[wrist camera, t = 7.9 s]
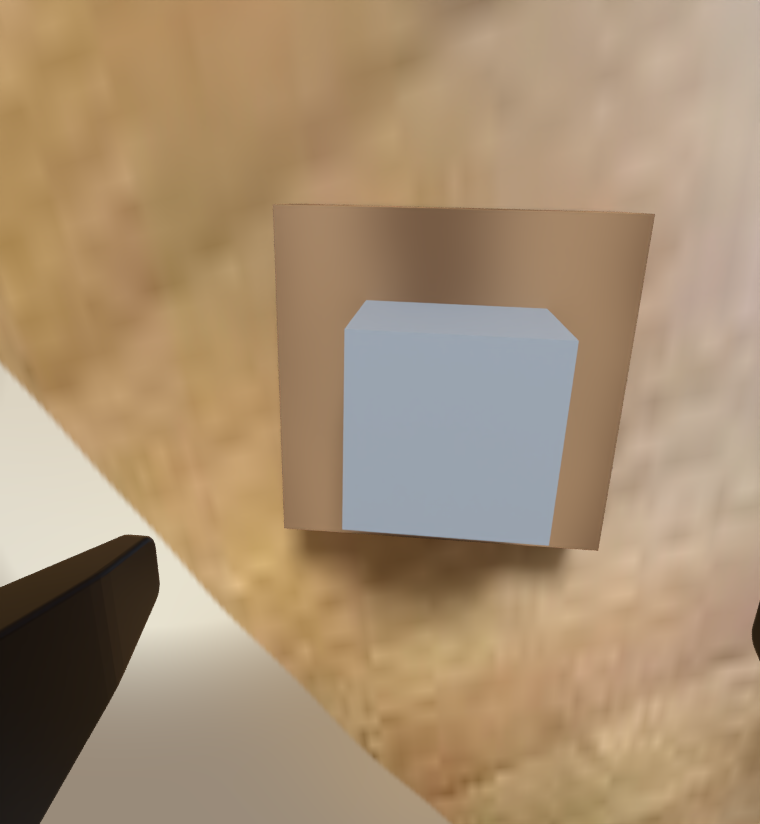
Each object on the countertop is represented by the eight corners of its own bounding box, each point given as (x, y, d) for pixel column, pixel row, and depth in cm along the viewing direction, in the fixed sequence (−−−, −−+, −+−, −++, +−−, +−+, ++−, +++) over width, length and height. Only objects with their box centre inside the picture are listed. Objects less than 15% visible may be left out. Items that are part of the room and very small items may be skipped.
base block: (621, 211, 18) (654, 213, 15) (577, 504, 21) (597, 550, 19) (297, 203, 19) (272, 204, 16) (304, 487, 22) (284, 528, 19)
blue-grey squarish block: (547, 308, 16) (578, 341, 13) (526, 473, 18) (549, 545, 14) (366, 300, 17) (344, 328, 13) (362, 462, 18) (342, 529, 15)
